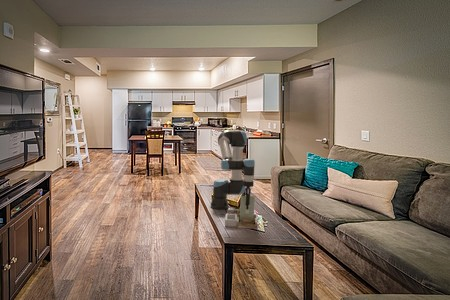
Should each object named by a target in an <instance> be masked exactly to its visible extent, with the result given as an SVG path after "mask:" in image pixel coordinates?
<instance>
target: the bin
mask: <svg viewBox="0 0 450 300" xmlns="http://www.w3.org/2000/svg"><path fill="white" fill-rule="evenodd" d="M224 227H225V228H227V227H229V228H237V213H225V218H224Z"/></svg>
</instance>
